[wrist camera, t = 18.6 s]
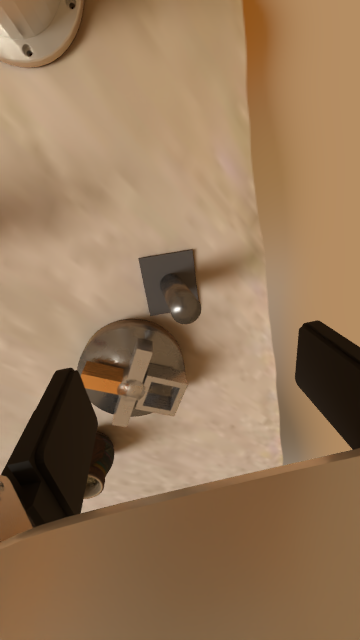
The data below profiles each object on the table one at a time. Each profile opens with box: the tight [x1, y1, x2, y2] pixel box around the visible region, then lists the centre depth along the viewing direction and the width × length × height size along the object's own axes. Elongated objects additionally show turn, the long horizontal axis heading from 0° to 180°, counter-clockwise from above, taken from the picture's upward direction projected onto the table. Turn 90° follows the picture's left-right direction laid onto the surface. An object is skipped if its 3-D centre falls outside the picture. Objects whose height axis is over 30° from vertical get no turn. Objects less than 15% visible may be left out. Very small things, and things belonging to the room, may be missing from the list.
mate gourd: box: [83, 432, 114, 499], centre depth 39 cm, size 7×8×10 cm
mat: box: [139, 250, 198, 316], centre depth 34 cm, size 8×7×1 cm
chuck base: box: [77, 319, 185, 417], centre depth 37 cm, size 15×15×3 cm
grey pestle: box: [160, 274, 201, 324], centre depth 29 cm, size 3×3×10 cm
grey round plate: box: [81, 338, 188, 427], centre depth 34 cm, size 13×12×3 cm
